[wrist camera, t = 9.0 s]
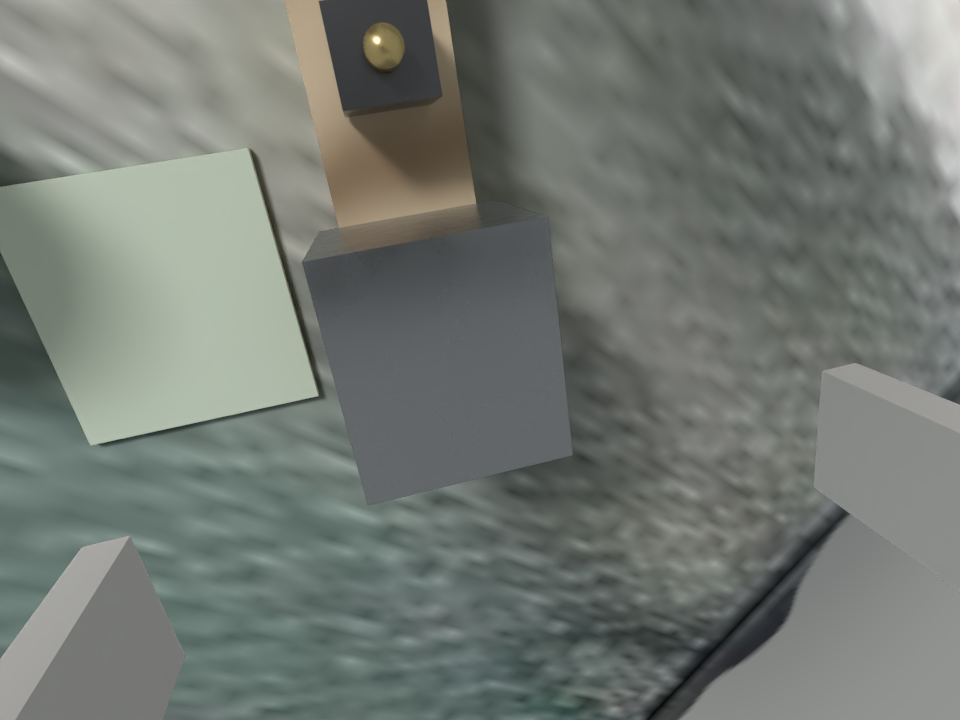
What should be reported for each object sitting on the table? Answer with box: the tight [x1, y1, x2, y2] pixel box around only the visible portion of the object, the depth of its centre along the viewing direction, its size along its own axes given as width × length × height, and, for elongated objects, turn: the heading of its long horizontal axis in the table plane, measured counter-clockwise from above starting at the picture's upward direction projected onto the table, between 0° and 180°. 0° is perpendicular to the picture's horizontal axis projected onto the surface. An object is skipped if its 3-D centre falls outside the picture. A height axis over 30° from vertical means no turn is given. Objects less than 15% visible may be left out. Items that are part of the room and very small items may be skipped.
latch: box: [319, 0, 442, 118], centre depth 18 cm, size 3×3×4 cm
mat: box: [0, 148, 319, 446], centre depth 26 cm, size 12×11×1 cm
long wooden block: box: [284, 0, 476, 228], centre depth 23 cm, size 22×6×5 cm, turn 9°
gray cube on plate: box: [302, 200, 573, 505], centre depth 20 cm, size 8×7×7 cm
